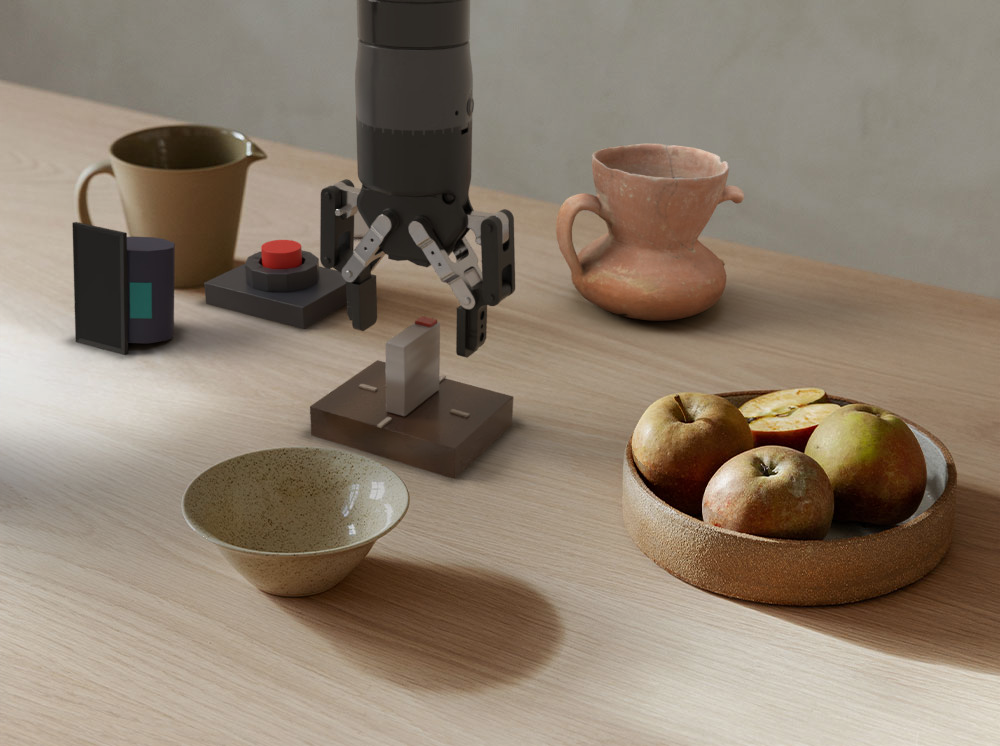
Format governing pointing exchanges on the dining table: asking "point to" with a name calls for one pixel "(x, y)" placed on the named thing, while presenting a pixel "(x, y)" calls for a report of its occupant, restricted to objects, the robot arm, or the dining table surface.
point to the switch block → (279, 291)
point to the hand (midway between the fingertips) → (415, 339)
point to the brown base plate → (413, 422)
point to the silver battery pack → (412, 366)
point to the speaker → (122, 288)
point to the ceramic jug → (649, 231)
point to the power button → (281, 254)
